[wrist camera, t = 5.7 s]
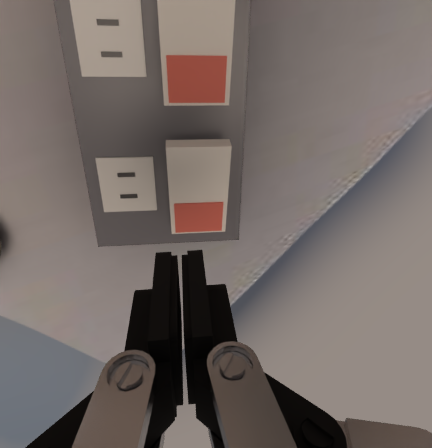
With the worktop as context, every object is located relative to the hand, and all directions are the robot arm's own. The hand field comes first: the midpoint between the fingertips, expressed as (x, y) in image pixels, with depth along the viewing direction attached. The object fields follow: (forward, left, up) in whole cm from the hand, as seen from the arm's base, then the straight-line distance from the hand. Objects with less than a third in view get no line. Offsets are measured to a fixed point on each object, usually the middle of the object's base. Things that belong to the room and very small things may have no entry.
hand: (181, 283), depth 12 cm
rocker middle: (-8, +1, -11) cm, 14 cm away
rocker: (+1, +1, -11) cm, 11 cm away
